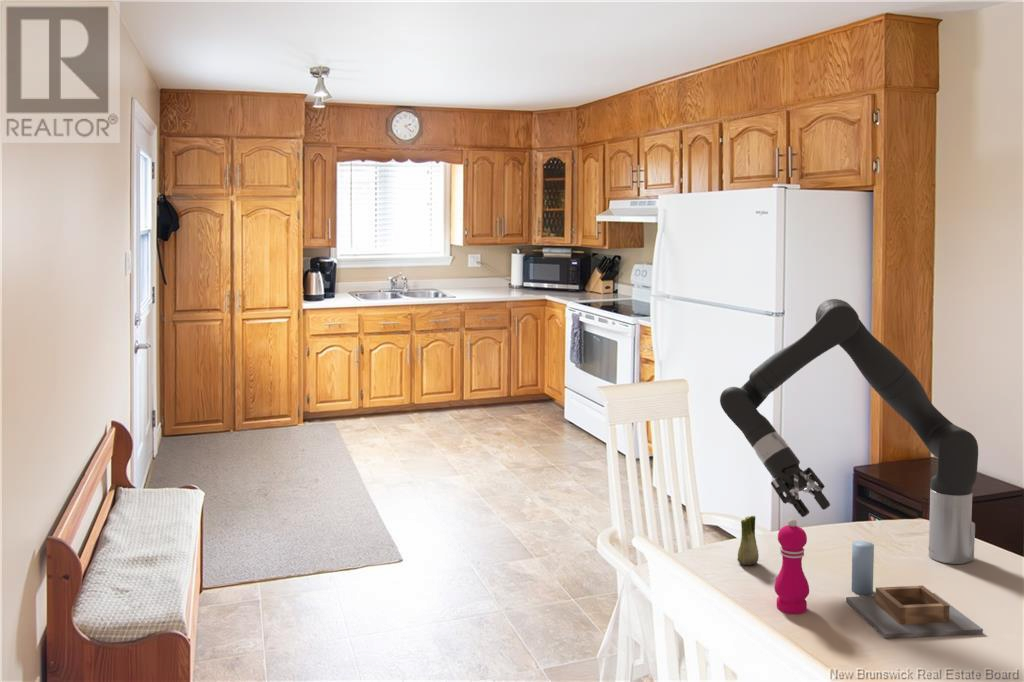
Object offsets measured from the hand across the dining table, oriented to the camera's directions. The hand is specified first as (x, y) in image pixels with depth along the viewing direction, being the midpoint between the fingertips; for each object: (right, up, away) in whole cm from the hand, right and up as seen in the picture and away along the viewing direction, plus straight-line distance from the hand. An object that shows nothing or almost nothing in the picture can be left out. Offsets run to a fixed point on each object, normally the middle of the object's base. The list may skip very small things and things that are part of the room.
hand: (816, 511), depth 200 cm
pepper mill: (-11, -18, -15) cm, 26 cm away
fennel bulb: (-13, -15, +11) cm, 23 cm away
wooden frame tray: (+12, -18, -21) cm, 30 cm away
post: (+8, -17, -7) cm, 20 cm away
